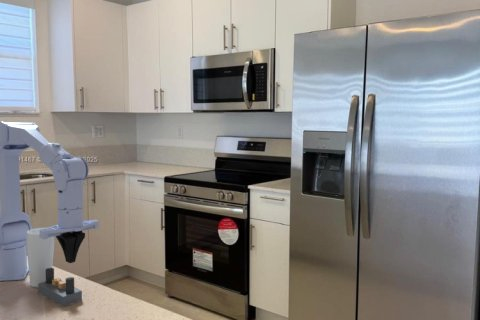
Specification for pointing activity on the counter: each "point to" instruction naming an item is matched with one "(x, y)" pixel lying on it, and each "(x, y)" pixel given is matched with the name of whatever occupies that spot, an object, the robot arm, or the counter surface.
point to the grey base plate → (59, 294)
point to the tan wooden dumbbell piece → (59, 283)
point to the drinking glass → (38, 256)
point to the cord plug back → (49, 275)
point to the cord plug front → (69, 285)
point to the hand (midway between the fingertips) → (70, 261)
